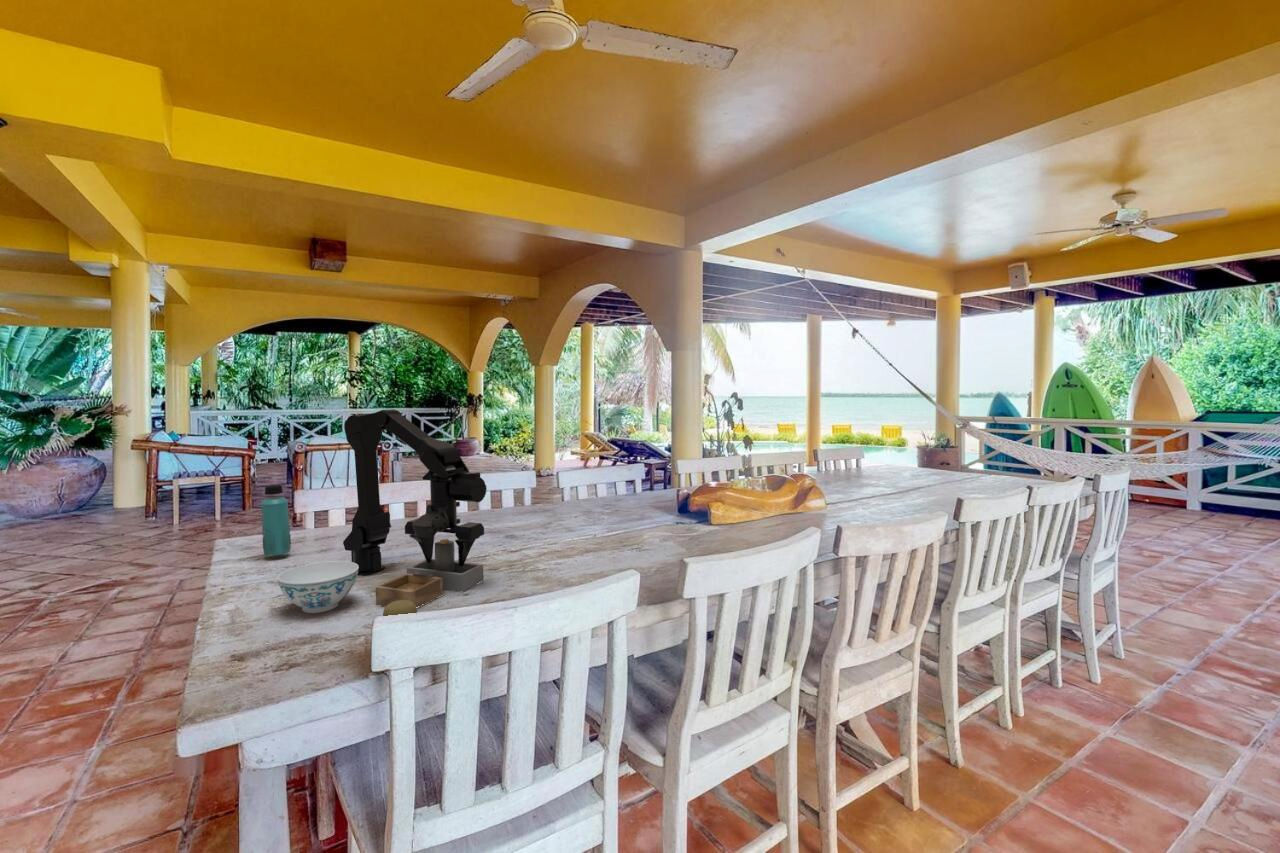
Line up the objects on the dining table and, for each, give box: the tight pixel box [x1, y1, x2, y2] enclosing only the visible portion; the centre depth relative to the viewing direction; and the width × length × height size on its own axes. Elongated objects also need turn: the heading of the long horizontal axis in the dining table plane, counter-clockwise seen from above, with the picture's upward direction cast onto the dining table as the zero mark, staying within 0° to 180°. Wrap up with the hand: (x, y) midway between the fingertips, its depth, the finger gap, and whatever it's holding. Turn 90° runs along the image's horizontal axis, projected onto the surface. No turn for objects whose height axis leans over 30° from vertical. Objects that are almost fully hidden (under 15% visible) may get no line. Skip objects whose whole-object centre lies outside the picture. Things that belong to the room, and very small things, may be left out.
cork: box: [382, 600, 420, 676], centre depth 96 cm, size 6×6×11 cm
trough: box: [406, 558, 485, 592], centre depth 137 cm, size 16×8×4 cm, turn 71°
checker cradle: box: [374, 572, 444, 607], centre depth 126 cm, size 10×10×4 cm
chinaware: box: [276, 560, 359, 614], centre depth 122 cm, size 15×15×8 cm
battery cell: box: [434, 538, 456, 573], centre depth 137 cm, size 4×4×9 cm
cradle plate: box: [397, 583, 422, 591], centre depth 126 cm, size 7×7×1 cm
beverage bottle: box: [260, 484, 292, 556], centre depth 158 cm, size 6×7×20 cm
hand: (445, 564), depth 137 cm, fingers open, 9 cm apart
